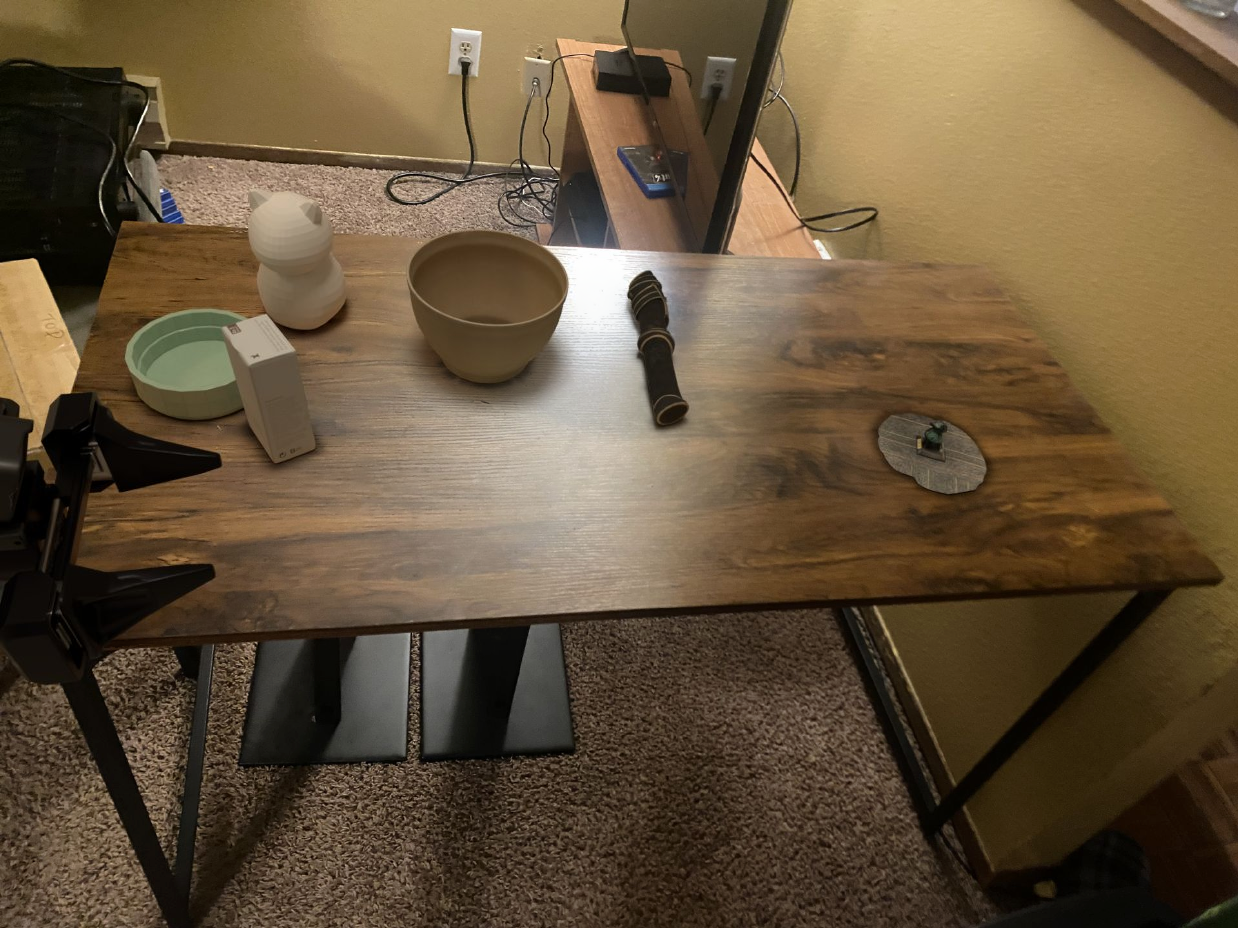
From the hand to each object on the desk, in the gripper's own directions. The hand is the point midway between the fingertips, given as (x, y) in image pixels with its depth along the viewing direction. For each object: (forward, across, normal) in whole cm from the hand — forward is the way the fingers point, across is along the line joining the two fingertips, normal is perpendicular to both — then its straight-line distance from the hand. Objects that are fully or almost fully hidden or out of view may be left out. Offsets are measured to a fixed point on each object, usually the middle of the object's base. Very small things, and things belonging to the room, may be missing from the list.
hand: (218, 512), depth 54 cm
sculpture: (+69, +12, +16) cm, 72 cm away
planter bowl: (+23, +32, +16) cm, 42 cm away
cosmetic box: (+2, +22, +16) cm, 27 cm away
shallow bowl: (-5, +31, +16) cm, 35 cm away
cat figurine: (+5, +42, +16) cm, 45 cm away
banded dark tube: (+42, +31, +16) cm, 54 cm away
